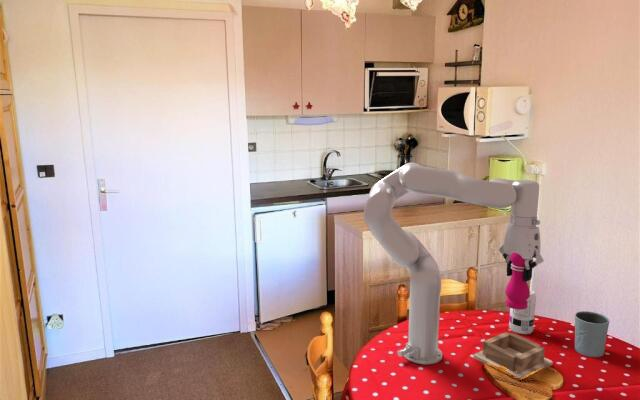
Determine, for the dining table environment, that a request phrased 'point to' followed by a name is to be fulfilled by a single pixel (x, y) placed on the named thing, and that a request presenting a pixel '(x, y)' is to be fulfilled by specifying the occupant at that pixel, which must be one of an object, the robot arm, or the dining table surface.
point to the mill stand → (513, 354)
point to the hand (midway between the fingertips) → (518, 277)
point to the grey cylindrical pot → (590, 333)
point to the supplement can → (523, 317)
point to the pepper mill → (517, 284)
